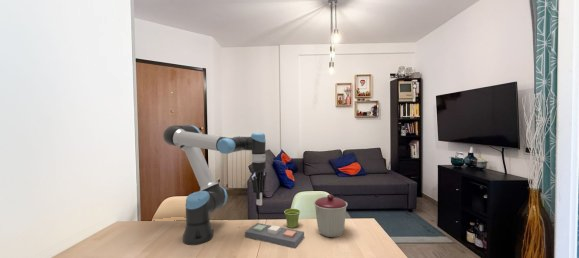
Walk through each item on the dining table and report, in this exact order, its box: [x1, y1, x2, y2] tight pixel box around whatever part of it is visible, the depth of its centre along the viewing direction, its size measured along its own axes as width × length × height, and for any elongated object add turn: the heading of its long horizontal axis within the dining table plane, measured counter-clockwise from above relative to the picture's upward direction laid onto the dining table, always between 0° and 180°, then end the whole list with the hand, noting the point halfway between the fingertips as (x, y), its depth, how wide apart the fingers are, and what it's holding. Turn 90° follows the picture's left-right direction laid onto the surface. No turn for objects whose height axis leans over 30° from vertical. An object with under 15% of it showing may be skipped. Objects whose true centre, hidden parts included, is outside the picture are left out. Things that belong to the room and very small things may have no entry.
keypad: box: [244, 222, 305, 249], centre depth 125 cm, size 29×12×3 cm, turn 65°
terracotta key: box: [283, 230, 296, 238], centre depth 121 cm, size 5×5×3 cm
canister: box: [313, 194, 348, 238], centre depth 129 cm, size 18×18×21 cm
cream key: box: [268, 225, 282, 235], centre depth 125 cm, size 5×5×3 cm
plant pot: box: [283, 208, 301, 229], centre depth 139 cm, size 9×9×9 cm
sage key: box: [253, 224, 266, 232], centre depth 129 cm, size 5×5×3 cm
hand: (259, 204), depth 129 cm, fingers closed
